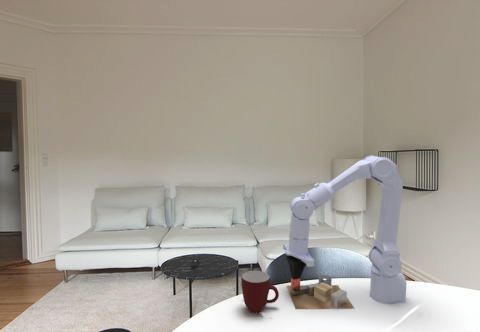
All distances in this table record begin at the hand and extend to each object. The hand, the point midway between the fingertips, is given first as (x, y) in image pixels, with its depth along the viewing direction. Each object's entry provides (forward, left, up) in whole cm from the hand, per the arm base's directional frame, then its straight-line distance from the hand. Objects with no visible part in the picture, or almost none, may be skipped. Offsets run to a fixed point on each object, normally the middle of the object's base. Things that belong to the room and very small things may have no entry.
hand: (295, 280), depth 100 cm
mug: (+12, +7, -6) cm, 15 cm away
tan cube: (-8, +2, -5) cm, 10 cm away
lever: (-6, -2, -4) cm, 7 cm away
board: (-7, +1, -6) cm, 9 cm away
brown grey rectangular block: (-11, +6, -6) cm, 14 cm away
